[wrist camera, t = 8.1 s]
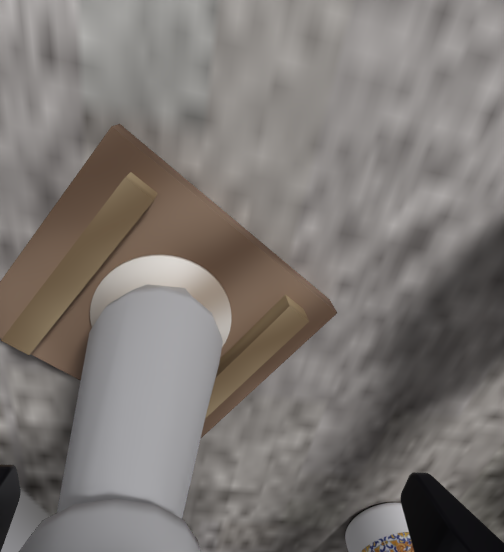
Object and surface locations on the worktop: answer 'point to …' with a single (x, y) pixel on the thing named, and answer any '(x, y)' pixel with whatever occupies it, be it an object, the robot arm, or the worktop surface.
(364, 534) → the bath foam
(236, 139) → the worktop surface
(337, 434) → the worktop surface
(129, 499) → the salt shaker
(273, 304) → the stand
